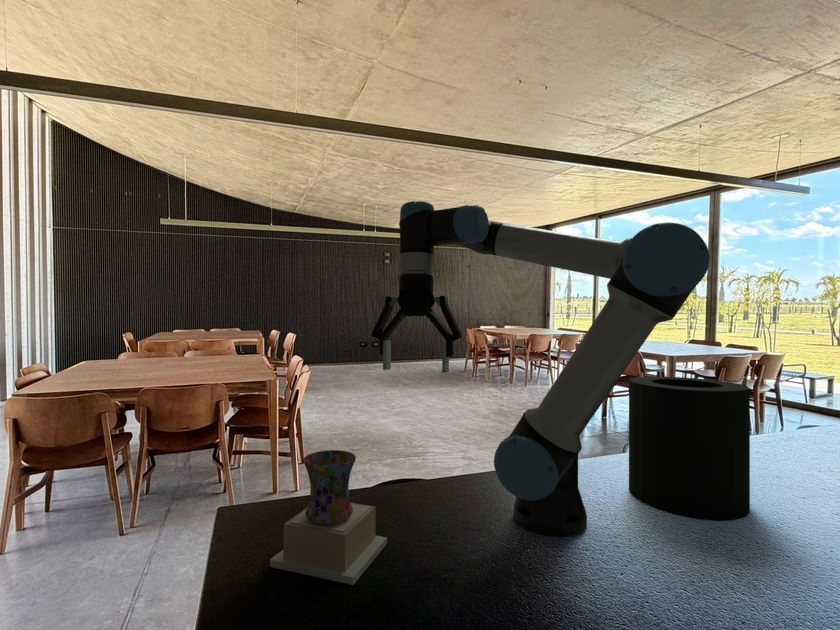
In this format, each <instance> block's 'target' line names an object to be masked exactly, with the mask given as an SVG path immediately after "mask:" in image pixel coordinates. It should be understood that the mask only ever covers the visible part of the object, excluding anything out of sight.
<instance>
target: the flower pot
mask: <svg viewBox="0 0 840 630" xmlns="http://www.w3.org/2000/svg"><path fill="white" fill-rule="evenodd" d="M750 389H751V388H750V387H749V386H748V385H745V384H740V383H737V382H731V381H724V380H717V379H716V380H715V379H709V378H707V379H706V378H696V377H684V376H683V377H681V376H678V377H677V376H637V377H631V378H629V380H628V491H629V493H630V494H631V496H632V497H633V498H635V499H636V500H638V501H639V502H640V503H642V504H644V505H647V506H649V507H650V508H654V509H655V510H657V511H658V510H659V511H662V512H665V513H668V514H670V515H671V514H672V515H674V516H678V517H683V518H687V519H693V520H701V521H713V522H730V521H731V522H732V521H737V520H740V519H745V518H747V516H748V515H749V514H750V513H751V512H750V511H751V504H750V503H751V491H750V490H751V481H750V480H751V479H750V478H751V475H750V474H751V473H750V471H751V470H750V469H751V467H750V466H751V461H750V460H751V458H750V457H751V453H750V452H751V450H750V449H751V447H750V446H751V443H750V441H751V437H750V436H751V434H750V433H751V432H750V431H751V429H750V428H751V427H750V426H751V425H750V424H751V422H750V418H751V417H750V416H751V413H750V411H751V409H750V408H751V406H750V403H751V398H750V397H751V396H750V394H751V393H750V391H751V390H750Z"/></svg>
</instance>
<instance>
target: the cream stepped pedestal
mask: <svg viewBox="0 0 840 630" xmlns="http://www.w3.org/2000/svg"><path fill="white" fill-rule="evenodd" d="M350 503H351V505H352V507H353V513H352V514H351V516H350V517H348V518H347V519H345V520H343V521H340V522H336V523H331V524H320V523H315V522H312V521H310V520H308V519H307V518H306V516H305V511H306V509H307V507H306V508H304V509H303V510H302V511H300V512H299V513H298V514H296V515H295V516H292V518H290V519H289V520H288V521H286V522H284V523H283V549H281V551H279V552H278V553H277V554H275V555H274V556H273V557H272V558H270V559H269V567H270V568H274V569H279V570H284V571H288V572H291V573H292V572H293V573H298V574H301V575H306V576H310V577H316V578H320V579H323V580H329V581H332V582H337V583H342V584H347V585H352V586H354V585H355V583H357V582H358V580H359V578H361V576H362V575H363V574H364V573H365V571H366V570H367V568H369V567H370V565H371V564H372V563H373V561H375V559H376V558H377V557H378V555H379V554H380V553H381V552H382V551H383V549H384V548H385V547H386V546H387V545H388V537H386V536H381V535H376V518H377V517H376V515H377V514H376V511H377V509H376V507H377V506H373V505H366V504H362V503H361V504H360V503H355V502H350Z"/></svg>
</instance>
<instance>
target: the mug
mask: <svg viewBox="0 0 840 630" xmlns="http://www.w3.org/2000/svg"><path fill="white" fill-rule="evenodd" d="M356 458H357V456H356V454H355V453H353V452H351V451H346V450H339V449H332V450H331V449H329V450H327V449H326V450H320V451H315V452H311V453H310V454H307V455H306V456H304V458H303V460H302V461H303V465H304V466H305V468H306V469H305V470H306V471H307V475H308V479H309V485H310V486H309V488H310V489H309V491H310V492H309V494H310V495H309V501H308V505H307V507H306V508H307V509H306V508H305V509H306V511H305V516H306V518H307V519H308V520H310V521H312V522H315V523H320V524H331V523H336V522H340V521H343V520H345V519H347V518H348V517H350V516H351V514H352V513H353V507H352V505H351V503H352V502H351V501H350V496H349V493H350V492H349V486H350V485H349V482H350V476H351V473H352V470H353V468H354V464H355V462H356V460H357V459H356Z"/></svg>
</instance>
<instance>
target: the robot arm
mask: <svg viewBox="0 0 840 630" xmlns="http://www.w3.org/2000/svg"><path fill="white" fill-rule="evenodd" d="M487 213H488V212H486V209H485V208H484V207H483V206H481V205H477V204H474V205H461V206H457V207H456V206H455V207H451V208H450V207H449V208H442V209H435V207H434V205H433V204H432V202H431V203H430V202H428V201H425V200H424V201H423V200H419V201H416V200H415V201H414V200H413V201H407V202H405V203H403V204H402V205H401V207H400V215H399V222H398V226H399V263H398V271H399V273H401V274H400V276H399V277H398V279H399V280H398V283H399V284H398V287H399V288H398V292H399V293H398V297H394V296H392V295H391V296H390V295H387V296H385V299H384V306H383V308H382V311H381V312H380V315H379V318H377V321H376V323H375V326H374V328H373V329H372V332H371V337H372V338H376V339H378V342H379V355H381V356H382V370H383V371H388V370H391V368H392V364H391V363H392V340H391V339H389V337H391V336H392V334H393V333H394V332H395V330H396V329H397V327H398V326H399V325H400V324H401V322H402V321H404V319H405V318H407V317H426V318H427V319H428V320H429V321H430V322H431V324H432V325H433V326H434V328H435V329H436V330H437V331H438V332H439V333H440V335H442V337H443V339H445V341H442V343H441V344H442V345H441V347H442V349H441V351H442V352H441V354H442V355H441V357H442V358H441V360H442V361H441V362H442V363H441V373H442V374H446V373H449V372H450V358H451V357H453V356H454V345H455V344H454V342H455V341H457V340H459V339H462V337H463V334H462V332H461V330H460V328H459V326H458V323H457V321H456V319H455V317H454V314H453V312H452V310H451V309H450V307H449V300H448V296H446V295H441V294H440V296H435V295H434V276H433V274H432V273H434V257H435V256H434V250H435V246H436V247H439V246H450V245H455V246H456V245H457V246H460V247H463V248H465V249H468V250H471V251H474V252H475V253H478V254H481V255H491V256H496V257H497V256H498V257H501V258H507V259H512V260H515V261H522V262H526V263H531V264H537V265H540V266H546V267H551V268H556V269H560V270H564V271H565V270H566V271H571V272H575V273H581V274H585V275H589V276H595V277H600V278H604V279H609V280H608V282H607V284H606V288H607V292H608V299H607V301H606V303H605V304H604V305H603V307H602V308H601V309H600V311H599V313H598V314H597V316H596V317H595V319H594V321H593V323H591V325H590V327H589V329H587V332H586V333H585V335H584V336H583V337H582V339H581V340H580V342H579V344H578V346H577V347H576V349H575V350H574V351H573V353H572V355H571V356H570V358H569V359H568V361H567V363H566V364H565V366H564V367H563V368H562V370H561V372H560V373H559V375H558V376H557V378H556V380H555V381H554V382H553V384H552V385H551V387H550V388H549V390H548V391H547V393H546V395H545V396H544V398H543V399H542V400H541V402H540V404H539V405H538V406H537V407H535V408H528V409H526V410H525V411H524V412H523V413H522V416H521V417H520V419H519V421H518V422H517V424H516V425H515V427H514V428H513V430H512V431H511V433H510V434H509V436H507V437H505V438H504V439H503V440H502V441H501V442H500V443H499V444H498V446H497V448H496V450H495V453H494V456H493V457H494V458H493V465H494V467H493V468H494V470H495V473H496V474H495V475H496V477H497V479H498V481H499V482H500V484H501V485H502V487H504V489H505V490H506V491H507V492H508V493H510V494H511V495H513V496H514V497H515V501H514V504H513V519H514V520H515V522H516V523H517V524H518V525H519V526H521V527H522V528H524V529H525V530H528V531H530V532H533V533H536V534H540V535H544V536H549V537H550V536H551V537H571V536H576V535H579V534H581V533H583V532H584V531H585V530H586V529H587V527H588V516H587V515H588V514H587V511H586V507H585V505H584V500H583V498H582V496H581V492H580V489H579V454H580V452H581V451H582V448H583V446H582V443H581V438H580V436H581V434H582V433H583V431H584V430H585V428H586V427H587V425H588V424H589V423H590V422H591V420H592V418H593V417H594V415H595V414H596V412H597V411H598V410H599V408H600V407H601V405H602V404H603V402H604V401H605V400H606V398H607V397H608V395H609V393H610V392H611V391H612V389H613V388H614V387H615V385H616V384H617V382H618V381H619V379H620V378H621V377H622V375H623V374H624V373H625V371H626V369H627V368H628V367H629V365H630V364H631V362H632V361H633V359H634V358H635V356H636V355H637V353H638V352H639V350H640V349H641V347H643V345H644V344H645V342H646V341H647V339H648V338H649V336H650V334H651V333H652V332H653V330H654V329H655V327H656V326H657V325H659V324H660V323H664V322H668V321H672V320H673V319H674V318H675V316H676V315H677V313H679V311H680V309H682V306H683V305H684V303H686V302H687V300H688V298H689V296H690V295H691V294H692V293H693V291H694V290H695V288H696V287H697V285H699V284H700V282H702V280H703V279H704V277H705V275H706V273H707V272H708V269H709V266H710V257H711V256H710V252H709V248H708V245H707V243H706V242H705V241H704V239H703V237H702V236H701V235H700V234H699V233H698V232H697V231H696V230H694V229H692V228H691V227H689V226H687V225H684V224H682V223H678V222H669V221H668V222H659V223H655V224H652V225H651V224H650V225H649V226H646V227H644V228H643V229H641V230H639V231H638V232H636V234H635V235H633V237H627V238H626V239H625V240H623V241H616V240H611V239H603V238H597V237H592V236H586V235H579V234H574V233H567V232H562V231H554V230H549V229H542V228H537V227H530V226H523V225H518V224H510V223H505V222H504V223H503V222H500V221H493V220H489V217H488V214H487ZM435 303H436V304H437V306H438V307H440V309H441V312H442V314H443V316H444V318H445V320H446V323H447V324H448V327H449V329H448V328H447V327H446V326H445V324H444V323H443V322H442V320H441V319H440V318H439V317H438V315H437V314H436V312H434V309H432V308H433V306H434V305H435ZM397 304H398V306H399V307H400V308H399V309H398V311H397V312H396V314H395V316H394V317H393V318H392V319H391V320H390V322H389V323H388V321H389V318H390V316H391V314H392V311H393V310H394V308H395V307H396V305H397ZM387 323H388V324H387ZM449 330H450V331H451V332H450V331H449Z"/></svg>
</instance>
